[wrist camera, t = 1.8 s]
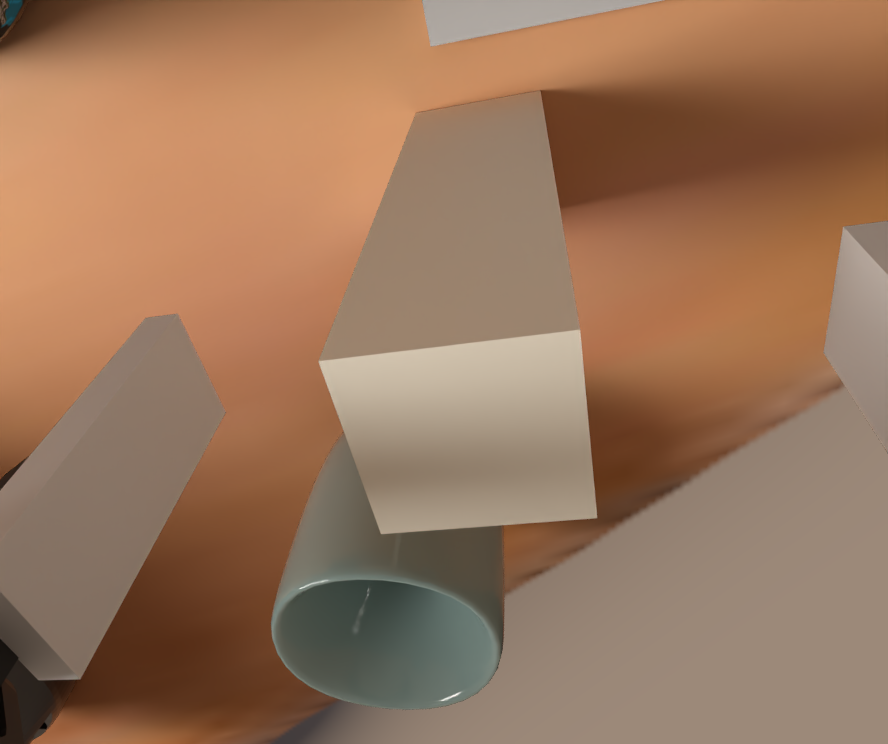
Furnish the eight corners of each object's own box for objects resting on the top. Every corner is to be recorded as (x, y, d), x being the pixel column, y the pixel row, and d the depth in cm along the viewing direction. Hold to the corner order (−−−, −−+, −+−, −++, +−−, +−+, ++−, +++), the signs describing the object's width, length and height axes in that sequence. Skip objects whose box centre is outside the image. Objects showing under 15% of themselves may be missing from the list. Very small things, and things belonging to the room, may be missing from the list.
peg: (439, 227, 24) (380, 534, 13) (415, 113, 22) (318, 361, 10) (553, 210, 23) (597, 518, 12) (540, 90, 21) (580, 329, 10)
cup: (512, 380, 28) (514, 584, 20) (498, 511, 32) (495, 721, 24) (324, 368, 28) (250, 564, 20) (337, 499, 33) (281, 702, 25)
